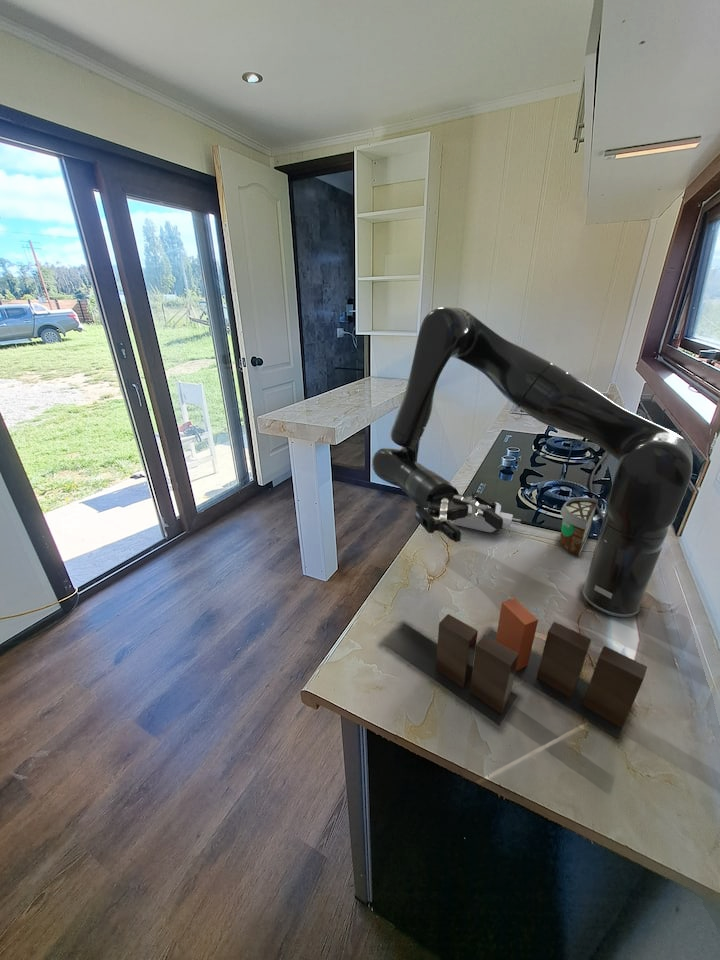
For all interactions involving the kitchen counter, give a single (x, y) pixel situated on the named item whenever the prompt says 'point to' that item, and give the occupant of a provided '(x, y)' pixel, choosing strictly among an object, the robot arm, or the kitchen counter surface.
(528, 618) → the orange upright brick
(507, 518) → the charger
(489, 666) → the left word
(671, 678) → the kitchen counter surface
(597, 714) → the brown notched block
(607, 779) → the kitchen counter surface
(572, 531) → the food container
